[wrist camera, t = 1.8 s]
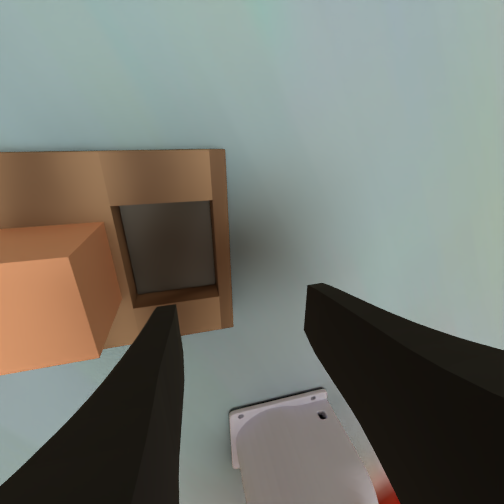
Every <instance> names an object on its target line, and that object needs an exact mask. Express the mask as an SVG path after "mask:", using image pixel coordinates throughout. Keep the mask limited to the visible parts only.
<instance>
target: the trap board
mask: <svg viewBox="0 0 504 504" xmlns="http://www.w3.org/2000/svg"><path fill="white" fill-rule="evenodd" d="M209 201H210V203H209ZM210 215H211V217H210ZM93 222H104V225H105V230H106V234H107V238H108V242H109V246H110V250H111V255H112V259H113V263H114V267H115V271H116V275H117V280H118V284H119V288H120V292H121V296H122V300H121V303H120V306H119V308H118V311H117V314H116V316H115V319H114V321H113V324H112V327H111V329H110V332H109V334H108V337H107V340H106V342H105V345H104V347H103V349H107V348H112V347H118V346H124V345H130V344H132V343H133V342H134V340H135V339H136V337H137V336H138V335H139V333H140V332H141V330H142V329H143V327H144V325H145V324H146V322H147V321H148V319H149V318H150V316H151V314H152V313H153V311H154V310H155V308H156V307H159V306H166V305H173V304H176V306H177V313H178V320H179V327H180V334H181V336H183V335H188V334H194V333H200V332H206V331H212V330H218V329H223V328H229V327H233V308H232V286H231V265H230V244H229V223H228V201H227V180H226V159H225V149H177V150H111V151H44V152H0V229H8V228H22V227H36V226H50V225H64V224H78V223H93ZM211 228H212V230H211ZM212 242H213V244H212ZM213 255H214V257H213ZM214 269H215V271H214Z"/></svg>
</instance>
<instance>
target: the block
mask: <svg viewBox="0 0 504 504" xmlns="http://www.w3.org/2000/svg"><path fill="white" fill-rule="evenodd" d="M121 300H122V296H121V292H120V288H119V284H118V280H117V275H116V271H115V267H114V263H113V259H112V255H111V250H110V246H109V242H108V238H107V234H106V230H105V225H104V222H93V223H78V224H64V225H50V226H36V227H22V228H8V229H0V375H5V374H11V373H16V372H22V371H27V370H33V369H39V368H44V367H50V366H56V365H61V364H67V363H73V362H78V361H84V360H90V359H95V358H100V355H101V353H102V350H103V347H104V345H105V342H106V340H107V337H108V334H109V332H110V329H111V327H112V324H113V321H114V319H115V316H116V314H117V311H118V308H119V306H120V303H121Z"/></svg>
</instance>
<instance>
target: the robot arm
mask: <svg viewBox="0 0 504 504" xmlns="http://www.w3.org/2000/svg"><path fill="white" fill-rule="evenodd" d="M304 331H305V333H306V335H307V338H308V340H309V342H310V344H311V346H312V348H313V350H314V352H315V354H316V356H317V357H318V359H319V360H320V362H321V363H322V365H323V367H324V368H325V370H326V371H327V373H328V374H329V376H330V377H331V379H332V381H333V382H334V384H335V385H336V387H337V388H338V390H339V391H340V393H341V394H342V396H343V397H344V399H345V400H346V402H347V404H348V405H349V407H350V408H351V410H352V411H353V413H354V415H355V416H356V418H357V420H358V421H359V423H360V425H361V427H362V429H363V430H364V432H365V434H366V436H367V438H368V440H369V442H370V444H371V446H372V447H373V449H374V451H375V453H376V455H377V457H378V459H379V461H380V463H381V465H382V467H383V469H384V471H385V473H386V475H387V477H388V479H389V481H390V483H391V485H392V487H393V489H394V491H395V493H396V495H397V497H398V499H399V501H400V503H401V504H504V350H501V349H497V348H493V347H490V346H486V345H482V344H479V343H475V342H472V341H468V340H465V339H462V338H458V337H455V336H452V335H449V334H446V333H443V332H440V331H437V330H434V329H431V328H428V327H426V326H423V325H420V324H417V323H415V322H412V321H410V320H407V319H405V318H402V317H400V316H397V315H395V314H392V313H390V312H388V311H385V310H383V309H381V308H379V307H376V306H374V305H372V304H370V303H367V302H365V301H363V300H361V299H359V298H356V297H354V296H352V295H350V294H348V293H346V292H343V291H341V290H339V289H337V288H334V287H332V286H330V285H327V284H324V283H319V284H312V285H308V286H307V298H306V310H305V322H304ZM183 394H184V360H183V347H182V341H181V334H180V327H179V320H178V313H177V306H176V304H173V305H166V306H159V307H156V308H155V310H154V311H153V313H152V314H151V316H150V318H149V319H148V321H147V322H146V324H145V325H144V327H143V329H142V330H141V332H140V333H139V335H138V336H137V337H136V339H135V340H134V342H133V343H132V345H131V346H130V347H129V349H128V350H127V352H126V353H125V354H124V356H123V357H122V358H121V360H120V361H119V362H118V363H117V365H116V366H115V367H114V369H113V370H112V371H111V372H110V374H109V375H108V376H107V377H106V379H105V380H104V381H103V382H102V384H101V385H100V386H99V387H98V388H97V389H96V391H95V392H94V393H93V394H92V395H91V396H90V397H89V399H88V400H87V401H86V402H85V403H84V404H83V405H82V406H81V407H80V408H79V410H78V411H77V412H76V413H75V414H74V415H73V416H72V417H71V418H70V419H69V420H68V421H67V422H66V423H65V424H64V425H63V426H62V427H61V428H60V430H59V431H58V432H57V433H56V434H55V435H53V436H52V437H51V438H50V439H49V440H48V441H47V442H46V443H45V444H44V445H43V446H42V447H41V448H40V449H39V450H38V451H37V452H36V453H35V454H34V455H33V456H32V457H31V458H30V459H29V460H28V461H27V462H26V463H25V464H24V465H23V466H22V467H21V468H20V469H19V470H17V471H16V472H15V473H14V474H13V475H12V476H11V477H10V478H9V479H8V480H7V481H5V482H4V483H3V484H2V485H1V486H0V504H179V453H180V438H181V424H182V409H183ZM229 423H230V439H231V454H232V466H233V468H234V469H238V468H240V471H241V476H242V482H243V487H244V493H245V499H246V504H378V500H377V496H376V493H375V490H374V487H373V484H372V482H371V479H370V476H369V474H368V472H367V470H366V468H365V465H364V463H363V462H362V460H361V458H360V456H359V454H358V453H357V451H356V449H355V447H354V446H353V444H352V442H351V440H350V439H349V437H348V435H347V433H346V432H345V430H344V428H343V426H342V425H341V423H340V421H339V419H338V418H337V416H336V414H335V412H334V411H333V409H332V407H331V405H330V404H329V402H328V400H327V392H326V390H325V389H319V390H315V391H311V392H307V393H303V394H299V395H295V396H291V397H287V398H282V399H278V400H274V401H270V402H266V403H262V404H258V405H254V406H250V407H246V408H242V409H237V410H234V411H232V412H230V414H229Z"/></svg>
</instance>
